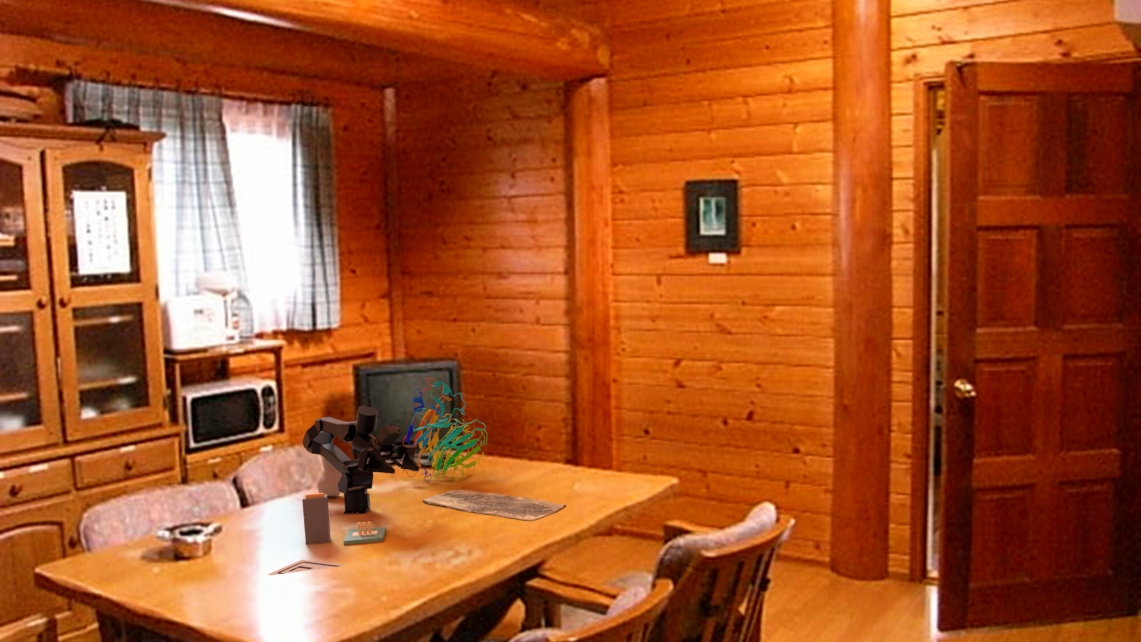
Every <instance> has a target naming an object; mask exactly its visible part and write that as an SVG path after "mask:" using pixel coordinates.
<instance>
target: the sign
mask: <svg viewBox="0 0 1141 642" xmlns="http://www.w3.org/2000/svg"><path fill="white" fill-rule="evenodd" d="M346 566H347V565H346V564H339V563H333V562H324V561H318V560H317V561H315V560H306V559H300V560H298V561H295V562H293V563H290V564H288V565H286V566H283V567H281V568H280V569H277V570H274V571H272V572H269V573H267V574H266V575H268V576H276V575H284V574H290V573H291V574H293V573H299V572H309V571H314V570H322V569H329V568H338V567H346Z"/></svg>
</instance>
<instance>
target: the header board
mask: <svg viewBox="0 0 1141 642" xmlns="http://www.w3.org/2000/svg"><path fill="white" fill-rule="evenodd" d="M386 531H387V527H386V526H385V525H384V526H375V527H374V526H373V527H372V521H367V522H366V521H363V522H362V521H359V522H357V528H350V529H347V532H346V534H345V535H344V539H343V545H344V546H346V545H347V546H348V545H357V544H358V545H359V544H370V543H379V542H380V543H381V542H384V538H385V534H386Z"/></svg>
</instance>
